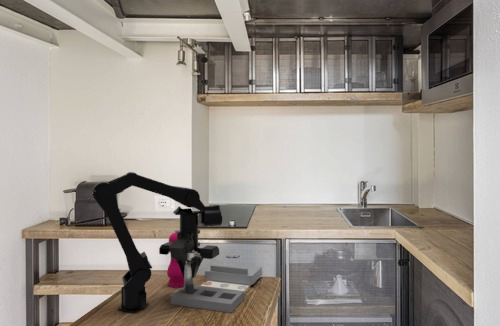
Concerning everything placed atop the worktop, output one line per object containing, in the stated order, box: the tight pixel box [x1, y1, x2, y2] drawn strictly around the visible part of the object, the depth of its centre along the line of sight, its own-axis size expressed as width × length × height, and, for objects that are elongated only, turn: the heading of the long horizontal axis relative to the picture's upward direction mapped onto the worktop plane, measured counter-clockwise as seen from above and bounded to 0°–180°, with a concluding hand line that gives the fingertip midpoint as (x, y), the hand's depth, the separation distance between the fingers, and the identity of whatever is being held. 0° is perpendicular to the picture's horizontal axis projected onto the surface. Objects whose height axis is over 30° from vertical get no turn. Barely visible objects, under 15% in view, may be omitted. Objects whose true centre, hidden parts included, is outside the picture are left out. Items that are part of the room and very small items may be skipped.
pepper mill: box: [166, 227, 184, 288], centre depth 127 cm, size 7×7×20 cm
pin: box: [183, 257, 195, 289], centre depth 114 cm, size 3×3×9 cm
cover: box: [204, 262, 263, 286], centre depth 132 cm, size 18×11×5 cm, turn 71°
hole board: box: [170, 284, 245, 314], centre depth 112 cm, size 20×11×2 cm, turn 71°
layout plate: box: [200, 280, 252, 293], centre depth 124 cm, size 16×9×1 cm, turn 71°
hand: (189, 277), depth 114 cm, fingers closed on pin, 3 cm apart
